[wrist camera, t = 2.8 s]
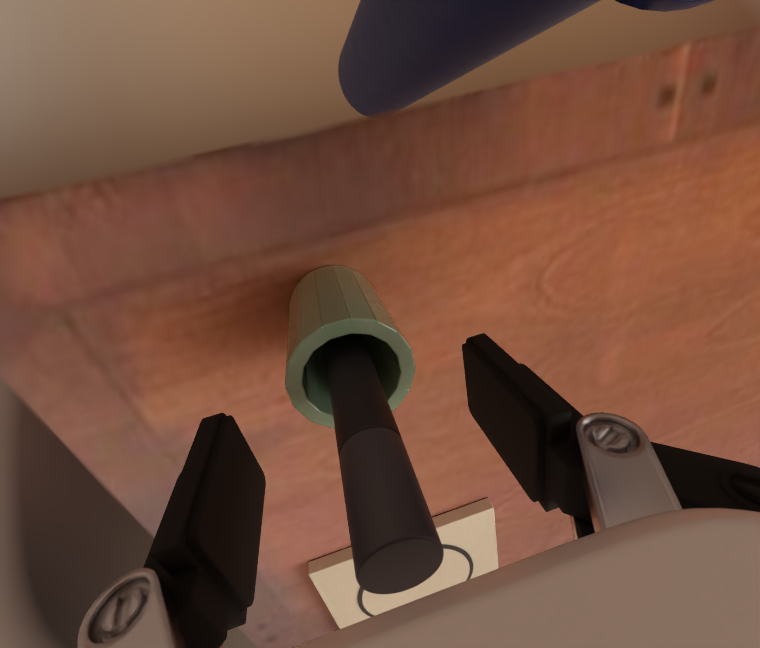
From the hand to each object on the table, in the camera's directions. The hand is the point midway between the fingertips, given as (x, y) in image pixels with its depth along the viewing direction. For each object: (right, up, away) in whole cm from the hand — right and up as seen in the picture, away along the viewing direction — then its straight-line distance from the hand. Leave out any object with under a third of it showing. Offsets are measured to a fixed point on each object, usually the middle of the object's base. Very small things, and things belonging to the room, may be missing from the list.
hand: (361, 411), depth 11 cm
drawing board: (+4, -23, +22) cm, 32 cm away
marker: (-2, +3, +7) cm, 8 cm away
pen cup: (-2, +4, +8) cm, 9 cm away
